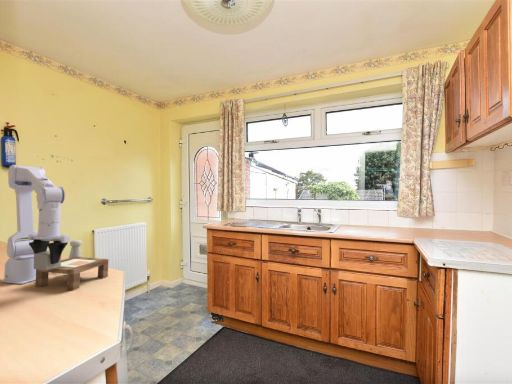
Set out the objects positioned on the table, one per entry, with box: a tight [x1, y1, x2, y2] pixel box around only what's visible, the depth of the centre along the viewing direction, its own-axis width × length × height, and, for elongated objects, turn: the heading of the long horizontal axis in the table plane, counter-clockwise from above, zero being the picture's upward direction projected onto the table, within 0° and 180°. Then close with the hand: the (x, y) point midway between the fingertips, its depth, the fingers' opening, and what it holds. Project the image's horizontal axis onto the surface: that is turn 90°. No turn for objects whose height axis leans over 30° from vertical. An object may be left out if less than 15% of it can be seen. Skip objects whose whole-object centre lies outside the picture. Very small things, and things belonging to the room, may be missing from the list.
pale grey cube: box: [34, 250, 62, 270], centre depth 85 cm, size 5×5×5 cm
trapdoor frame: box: [34, 256, 109, 291], centre depth 97 cm, size 16×16×7 cm
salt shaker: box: [68, 239, 83, 258], centre depth 111 cm, size 6×6×13 cm
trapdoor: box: [60, 259, 96, 268], centre depth 97 cm, size 10×10×1 cm
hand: (47, 262), depth 85 cm, fingers closed on pale grey cube, 5 cm apart
